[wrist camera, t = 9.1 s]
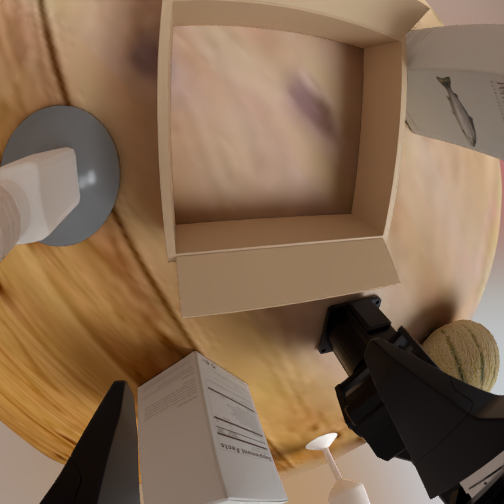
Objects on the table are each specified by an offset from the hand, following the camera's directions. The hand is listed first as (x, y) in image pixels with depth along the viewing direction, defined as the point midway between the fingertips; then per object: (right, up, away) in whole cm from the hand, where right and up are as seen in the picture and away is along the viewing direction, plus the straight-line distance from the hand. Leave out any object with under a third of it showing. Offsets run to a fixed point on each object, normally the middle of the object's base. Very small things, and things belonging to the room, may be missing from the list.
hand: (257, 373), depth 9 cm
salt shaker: (-13, +9, +6) cm, 17 cm away
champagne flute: (+13, -32, +36) cm, 50 cm away
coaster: (-14, +9, +6) cm, 18 cm away
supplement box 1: (-7, -10, +19) cm, 23 cm away
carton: (+1, +13, +9) cm, 16 cm away
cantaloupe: (+28, -10, +28) cm, 41 cm away
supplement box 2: (+14, +19, +9) cm, 25 cm away
